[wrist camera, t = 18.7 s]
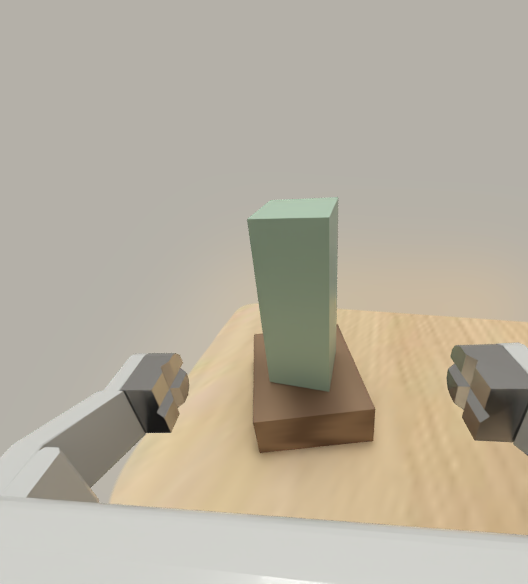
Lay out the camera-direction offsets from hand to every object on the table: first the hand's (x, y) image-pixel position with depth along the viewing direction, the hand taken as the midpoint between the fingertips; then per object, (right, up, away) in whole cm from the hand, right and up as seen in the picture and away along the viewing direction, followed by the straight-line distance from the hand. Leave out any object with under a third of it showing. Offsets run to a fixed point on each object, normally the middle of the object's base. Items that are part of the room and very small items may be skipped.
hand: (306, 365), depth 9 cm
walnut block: (+3, -8, +19) cm, 21 cm away
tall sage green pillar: (+2, -4, +17) cm, 18 cm away
